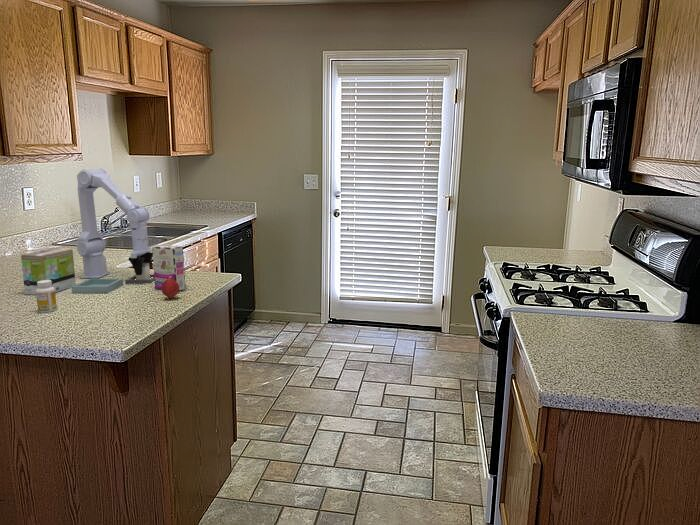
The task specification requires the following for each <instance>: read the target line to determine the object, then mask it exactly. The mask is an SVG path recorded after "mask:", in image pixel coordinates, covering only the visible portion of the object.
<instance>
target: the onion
mask: <svg viewBox="0 0 700 525" xmlns="http://www.w3.org/2000/svg"><path fill="white" fill-rule="evenodd" d="M161 292H162V294H163V295H164V296H165V297H167V298H168V299H171V300H173V299H174V298H175V297H176V296H177V295H178V294H179V293H180V292H179V285H178V283H177V282H176V281H175V280H173V279H172V276H170V277H169V278H168V279H167V280H166V281H165V282H164V283H163V285H162V290H161Z"/></svg>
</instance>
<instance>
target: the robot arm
mask: <svg viewBox="0 0 700 525" xmlns="http://www.w3.org/2000/svg"><path fill="white" fill-rule="evenodd" d="M77 173H78V174H77V175H76V180H77V195H78V203H79V204H78V206H79V212H80V219H81V220H80V221H81V229H82V230H81V231H82V232H81V234H80V235H78V236H77V243H76V250H77V253H78V254H79V255H80V257H82V266H83V275H81V276H80V277H79V278H80V279H101V278H103V277H105V276H107V275H110V272H109V271H108V267H107V264H108V263H107V258H106V256H105V255H104V251H105V250H106V242H105V241H104V238H103V234H102V233H100V232H99V231H98V224H97V216H96V215H97V214H96V209H95V208H96V207H95V206H96V205H95V198H94V192H95V191H96V190H97V189H98V188H102V189H103V190H104V191H106V192H107V193H108V195H110V196H111V197H112V198H113V199H114V200H115V204H116V206H117V207H118V208H119V209H120V210H121V211H122V212H123V213H124V214H125V215H126V219H127V222H128V223H129V227H130V230H131V240H132V252H130V257H129V256H128V261H129V262H130V264H131V265H132V267H133V271H134V273H135V274H134V275H142V266H143V263H149V268H150V269H151V264H152V261H153V253H152V247H151V246H149V237H148V236H149V235H148V225H147V222H148V221H149V218H150V213H149V211H148V209H147V208H146V207H144V206H143V207H142V206H141V205H139V204H138V203H136V201H135V200H134V199H132V196H131V195H129V194H127V193H125V194H124V193H123V192H122V191H121V190H120V189H119V188H118V186H117V185H116V184H115V183H114V181H113V180H112V179H111V176H110V174H109V173H108V172H107V171H106V170H105V169H103V168H99V169H85V168H84V169H81V170H80V171H79V172H77Z"/></svg>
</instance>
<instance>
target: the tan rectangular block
mask: <svg viewBox="0 0 700 525" xmlns="http://www.w3.org/2000/svg"><path fill="white" fill-rule="evenodd" d="M150 270H151V267H150V268H149V263H143V266H142V275H136V274H135V275H136V280H149V279H150V275H151V271H150Z"/></svg>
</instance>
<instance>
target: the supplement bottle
mask: <svg viewBox="0 0 700 525" xmlns="http://www.w3.org/2000/svg"><path fill="white" fill-rule="evenodd" d="M51 285H52V282H51V280H42V281H38V282H37V286H38V287H39V288H37V289H36V295H35V296H36V303H37V312H39V313H42V314H43V313H44V314H45V313H52V312H55V311H56V310H57V309H58V306H57V296H56V292H55V289H54V287H51Z"/></svg>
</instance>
